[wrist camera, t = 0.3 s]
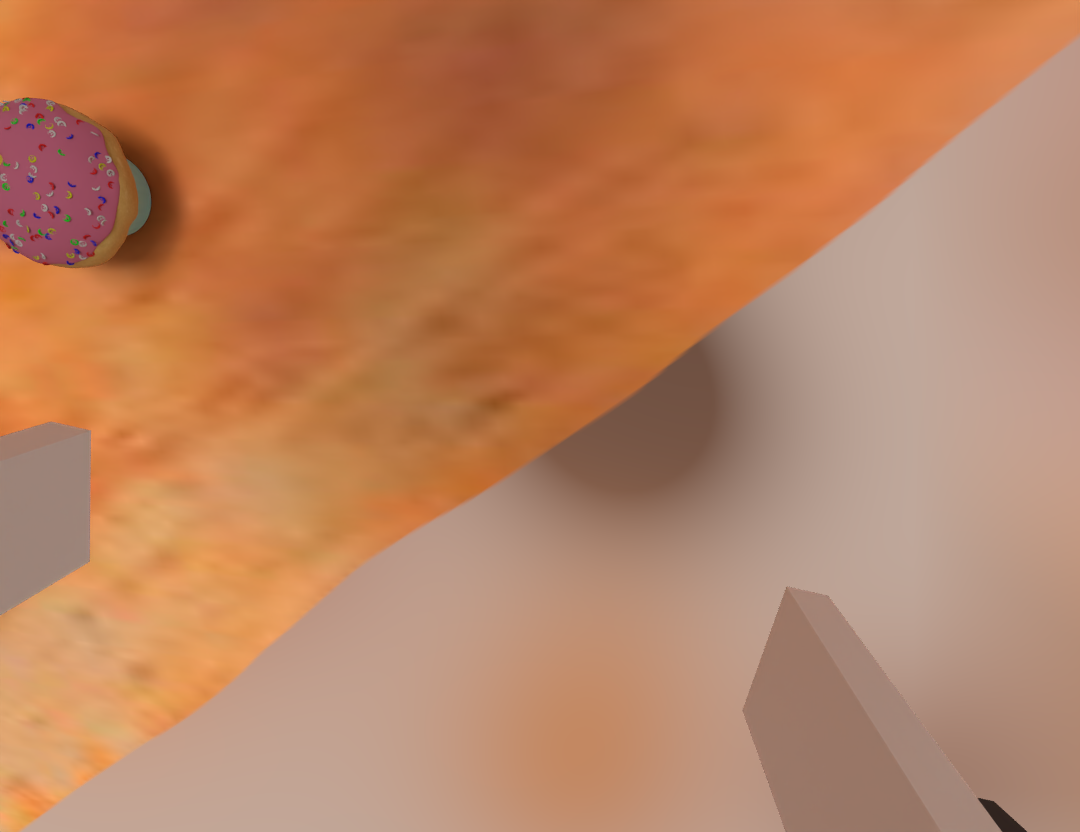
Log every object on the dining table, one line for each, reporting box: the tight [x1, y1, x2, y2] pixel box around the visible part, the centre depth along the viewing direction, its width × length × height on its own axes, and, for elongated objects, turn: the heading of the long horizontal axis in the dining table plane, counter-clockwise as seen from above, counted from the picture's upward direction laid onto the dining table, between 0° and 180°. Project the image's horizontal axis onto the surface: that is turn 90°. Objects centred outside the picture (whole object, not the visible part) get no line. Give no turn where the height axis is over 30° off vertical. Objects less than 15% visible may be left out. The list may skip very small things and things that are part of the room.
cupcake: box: [0, 98, 151, 268], centre depth 30 cm, size 9×8×12 cm
